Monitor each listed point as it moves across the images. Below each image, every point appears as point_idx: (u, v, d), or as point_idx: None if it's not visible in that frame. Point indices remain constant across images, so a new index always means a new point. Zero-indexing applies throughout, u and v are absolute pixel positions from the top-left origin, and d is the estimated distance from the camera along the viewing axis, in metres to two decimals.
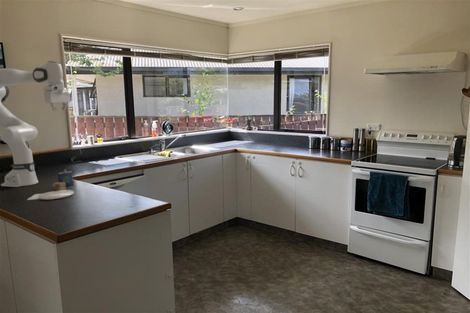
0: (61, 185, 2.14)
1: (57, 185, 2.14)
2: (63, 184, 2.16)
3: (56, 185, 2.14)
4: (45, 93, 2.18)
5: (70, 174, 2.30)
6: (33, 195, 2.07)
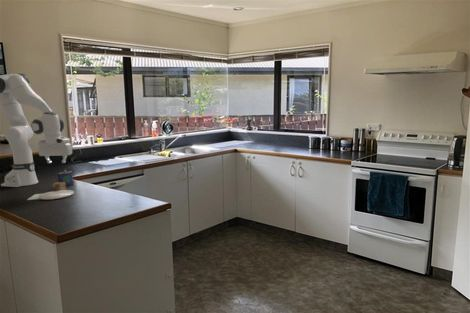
0: (61, 185, 2.14)
1: (57, 185, 2.14)
2: (63, 184, 2.16)
3: (56, 185, 2.14)
4: (67, 145, 2.10)
5: (70, 174, 2.30)
6: (33, 195, 2.07)
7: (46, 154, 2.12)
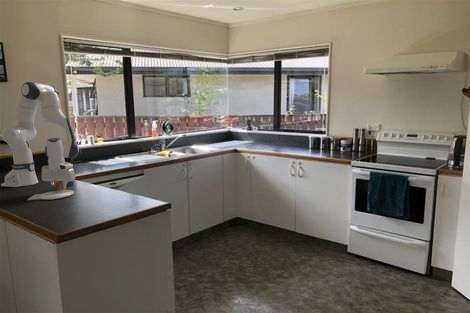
0: (61, 185, 2.14)
1: (57, 185, 2.14)
2: (63, 184, 2.16)
3: (56, 185, 2.14)
4: (70, 171, 2.12)
5: None
6: (33, 195, 2.07)
7: (49, 179, 2.15)
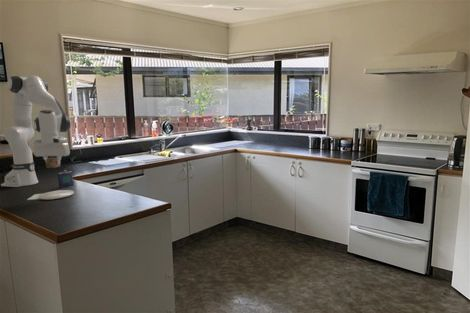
0: (55, 160, 2.00)
1: (50, 160, 1.99)
2: (57, 159, 2.02)
3: (49, 160, 1.99)
4: (64, 145, 1.98)
5: (70, 174, 2.30)
6: (33, 195, 2.07)
7: (42, 154, 2.01)
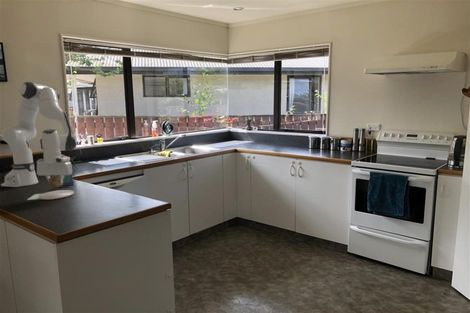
0: (57, 179, 2.02)
1: (53, 179, 2.01)
2: (59, 178, 2.04)
3: (52, 179, 2.01)
4: (67, 165, 2.00)
5: None
6: (33, 195, 2.07)
7: (45, 174, 2.02)
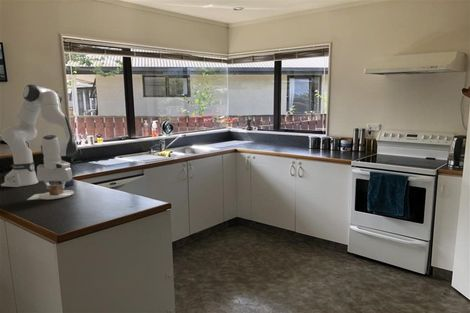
0: (58, 187, 2.03)
1: (53, 187, 2.02)
2: None
3: (52, 187, 2.02)
4: (67, 170, 2.00)
5: None
6: (33, 195, 2.07)
7: (45, 179, 2.03)
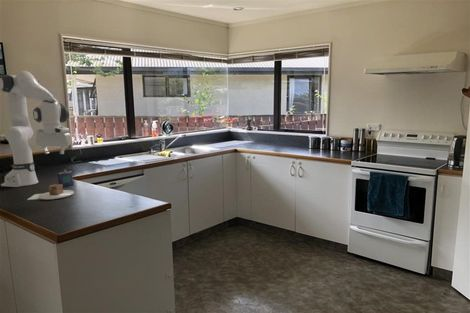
0: (58, 187, 2.03)
1: (53, 187, 2.02)
2: (60, 186, 2.04)
3: (52, 187, 2.02)
4: (66, 135, 1.99)
5: (70, 174, 2.30)
6: (33, 195, 2.07)
7: (44, 144, 2.02)
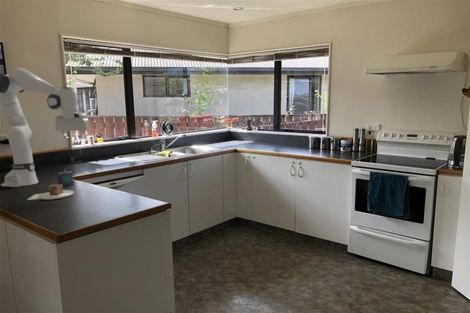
0: (58, 187, 2.03)
1: (53, 187, 2.02)
2: (60, 186, 2.04)
3: (52, 187, 2.02)
4: (84, 120, 2.10)
5: (70, 174, 2.30)
6: (33, 195, 2.07)
7: (63, 129, 2.12)
